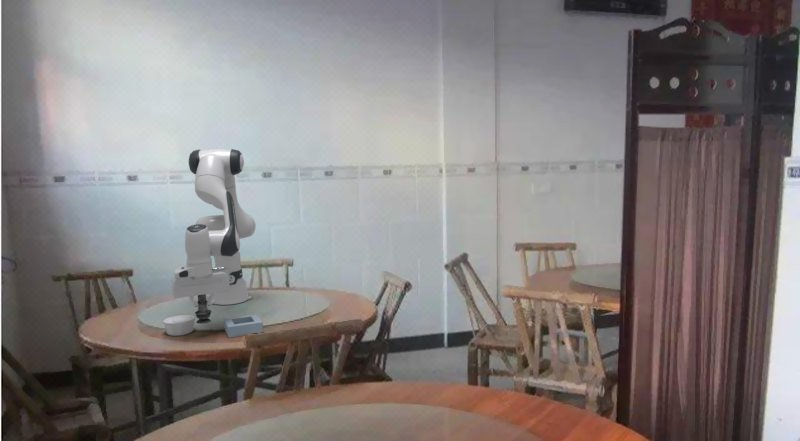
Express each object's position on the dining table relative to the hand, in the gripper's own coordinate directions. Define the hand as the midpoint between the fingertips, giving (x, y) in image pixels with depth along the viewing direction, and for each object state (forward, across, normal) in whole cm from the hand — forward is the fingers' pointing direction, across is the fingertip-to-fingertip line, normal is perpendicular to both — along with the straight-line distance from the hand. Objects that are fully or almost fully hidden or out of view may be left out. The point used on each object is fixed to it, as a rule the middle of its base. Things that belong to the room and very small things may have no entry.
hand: (202, 306), depth 230 cm
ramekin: (+12, +8, -8) cm, 16 cm away
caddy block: (+11, -14, +2) cm, 18 cm away
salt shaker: (+6, 0, 0) cm, 6 cm away
